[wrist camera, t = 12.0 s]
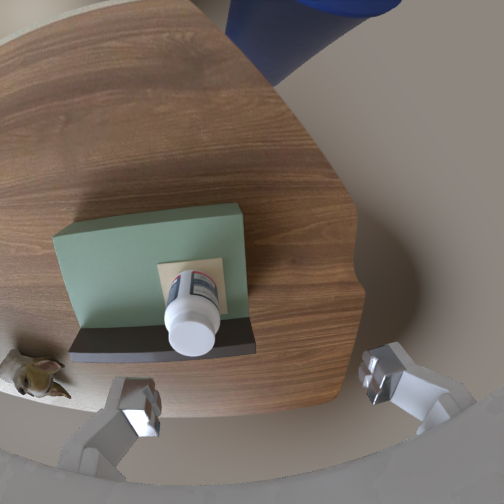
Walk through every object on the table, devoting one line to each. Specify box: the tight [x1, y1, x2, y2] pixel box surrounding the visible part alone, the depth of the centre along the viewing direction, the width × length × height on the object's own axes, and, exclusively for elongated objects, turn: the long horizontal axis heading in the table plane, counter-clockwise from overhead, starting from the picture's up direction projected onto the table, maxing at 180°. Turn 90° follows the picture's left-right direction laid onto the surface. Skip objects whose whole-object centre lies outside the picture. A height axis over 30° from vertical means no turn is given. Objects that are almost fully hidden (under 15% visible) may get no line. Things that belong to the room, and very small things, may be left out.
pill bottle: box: [164, 270, 220, 356], centre depth 27 cm, size 5×5×9 cm
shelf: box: [52, 203, 256, 363], centre depth 31 cm, size 14×22×11 cm, turn 93°
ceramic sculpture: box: [0, 349, 71, 399], centre depth 35 cm, size 11×9×15 cm
